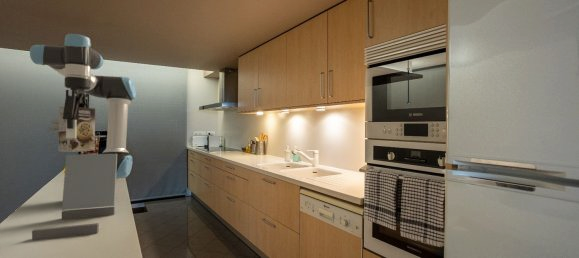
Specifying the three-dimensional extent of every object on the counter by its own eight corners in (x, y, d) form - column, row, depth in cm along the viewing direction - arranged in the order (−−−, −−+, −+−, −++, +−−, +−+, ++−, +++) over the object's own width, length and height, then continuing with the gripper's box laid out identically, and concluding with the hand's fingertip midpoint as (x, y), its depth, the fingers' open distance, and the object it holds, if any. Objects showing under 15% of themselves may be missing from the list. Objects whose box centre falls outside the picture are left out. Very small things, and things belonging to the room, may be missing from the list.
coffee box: (72, 152, 96) (72, 106, 96) (57, 151, 97) (57, 106, 97) (95, 150, 105) (95, 108, 105) (81, 149, 106) (82, 108, 106)
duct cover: (61, 209, 109) (63, 209, 110) (113, 205, 115) (114, 205, 117) (66, 154, 113) (67, 155, 114) (116, 153, 119) (117, 153, 120)
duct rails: (63, 218, 111) (63, 210, 111) (114, 213, 117) (114, 206, 117) (32, 239, 89) (32, 230, 89) (97, 233, 95) (97, 224, 95)
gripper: (77, 82, 111) (77, 136, 111) (50, 71, 89) (49, 139, 89) (99, 83, 113) (99, 136, 113) (77, 72, 91) (77, 138, 92)
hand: (77, 137), depth 101 cm, fingers closed on coffee box, 10 cm apart
